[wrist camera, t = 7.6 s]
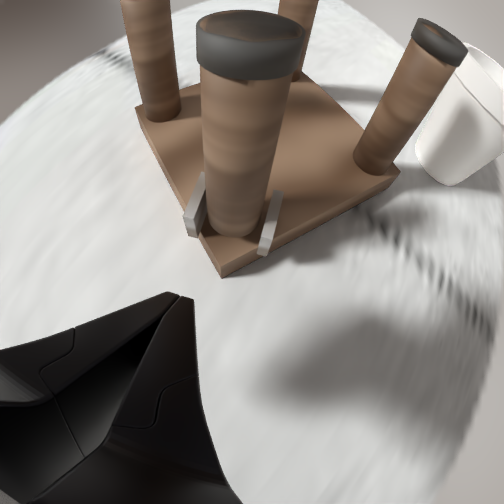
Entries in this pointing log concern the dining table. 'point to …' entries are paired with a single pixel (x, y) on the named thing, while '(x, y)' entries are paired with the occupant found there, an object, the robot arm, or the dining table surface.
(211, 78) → the hinged leg
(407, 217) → the dining table surface
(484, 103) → the foam cup
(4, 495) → the robot arm
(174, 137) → the stool
